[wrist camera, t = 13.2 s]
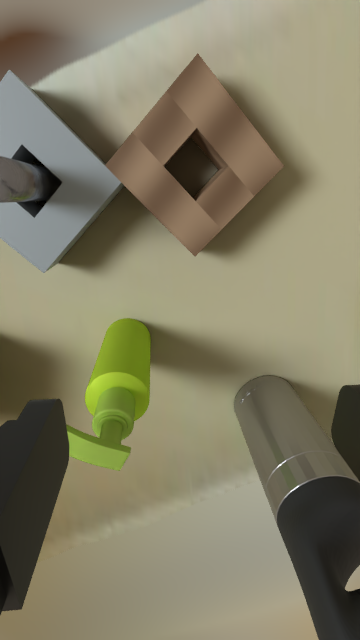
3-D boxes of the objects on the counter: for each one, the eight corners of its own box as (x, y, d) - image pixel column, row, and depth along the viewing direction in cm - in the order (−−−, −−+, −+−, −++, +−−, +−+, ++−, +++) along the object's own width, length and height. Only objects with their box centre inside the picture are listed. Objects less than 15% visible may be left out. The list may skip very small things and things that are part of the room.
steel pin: (68, 184, 33) (26, 178, 22) (50, 206, 34) (0, 212, 23) (43, 160, 32) (-14, 142, 21) (25, 184, 33) (-40, 178, 22)
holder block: (266, 169, 34) (284, 166, 30) (189, 248, 37) (194, 256, 32) (191, 74, 31) (197, 53, 26) (111, 169, 33) (104, 165, 29)
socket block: (125, 184, 34) (121, 182, 29) (57, 263, 36) (43, 273, 32) (31, 88, 30) (9, 69, 25) (-38, 184, 33) (-69, 182, 28)
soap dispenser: (108, 307, 39) (68, 408, 20) (158, 329, 41) (162, 442, 22) (90, 345, 41) (38, 470, 22) (138, 365, 42) (127, 497, 24)
